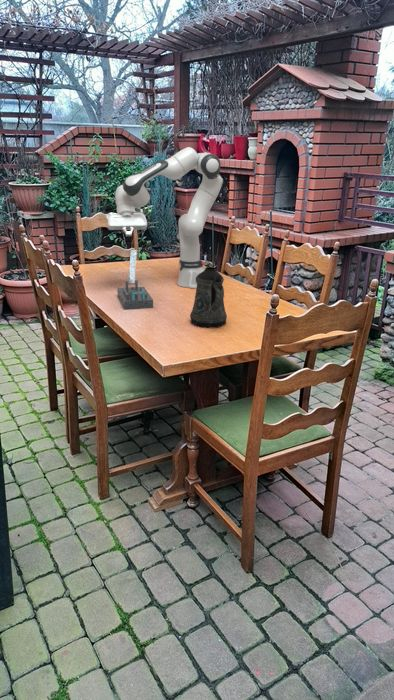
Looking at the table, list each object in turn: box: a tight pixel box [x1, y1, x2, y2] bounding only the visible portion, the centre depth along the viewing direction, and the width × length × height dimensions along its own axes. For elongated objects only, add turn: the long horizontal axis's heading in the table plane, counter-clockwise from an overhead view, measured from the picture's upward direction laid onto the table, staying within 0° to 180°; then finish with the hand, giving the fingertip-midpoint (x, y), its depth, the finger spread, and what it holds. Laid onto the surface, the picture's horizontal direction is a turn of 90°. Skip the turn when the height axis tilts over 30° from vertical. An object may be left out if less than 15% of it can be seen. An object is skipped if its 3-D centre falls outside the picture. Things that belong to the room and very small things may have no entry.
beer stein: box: [189, 266, 228, 329], centre depth 229 cm, size 16×19×25 cm
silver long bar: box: [128, 249, 138, 285], centre depth 261 cm, size 3×23×2 cm
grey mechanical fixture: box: [117, 279, 154, 310], centre depth 261 cm, size 14×27×8 cm, turn 15°
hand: (128, 235), depth 263 cm, fingers closed
